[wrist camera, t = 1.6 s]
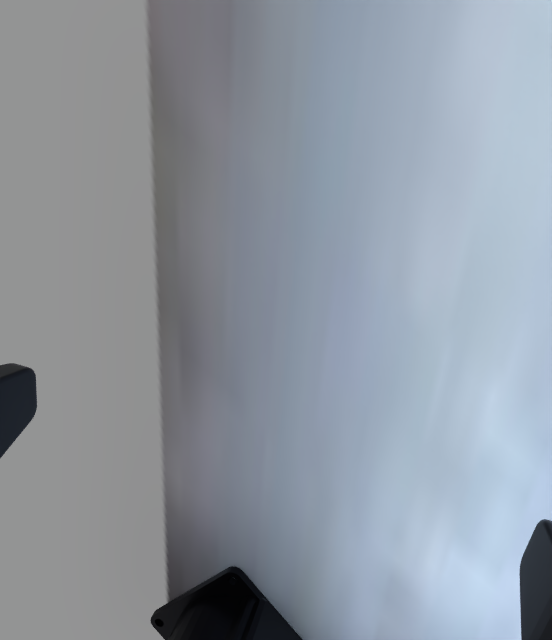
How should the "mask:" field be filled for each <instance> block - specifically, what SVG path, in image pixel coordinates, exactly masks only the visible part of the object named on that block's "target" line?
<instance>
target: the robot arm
mask: <svg viewBox="0 0 552 640" xmlns="http://www.w3.org/2000/svg"><path fill="white" fill-rule="evenodd" d="M36 408H37V395H36V375H35V373H34V371H33V370H32V369H31V368H28V367H25V366H21V365H18V364H14V363H10V364H5V365H0V458H1V457H2V456H3V454H4V453H5V452H6V451H7V449H8V448H9V447H10V446H11V445H12V443H13V442H14V441H15V440H16V438H17V437H18V436H19V435H20V434H21V432H22V431H23V430H24V429H25V427H26V426H27V425H28V424H29V422H30V421H31V420H32V418H33V417H34V415H35V412H36ZM231 576H232V577H235V578H236V579H234V578H232V577H231ZM520 603H521V637H522V640H552V521H550V520H547V519H544V520H541V521H540V522H539V523H538V524H537V526H536V528H535V530H534V532H533V534H532V536H531V539H530V541H529V543H528V545H527V548H526V550H525V552H524V554H523V557H522V560H521V564H520ZM151 624H152V625H153V627H154V628H155V629H156V630H157V631H158V632H159V633H160V634H161V636H162V637H163V638H164V639H165V640H302V639H301V638H300V637H299V636H298V634H297V633H296V632H295V631H294V630H293V629H292V627H291V626H290V625H289V624H288V623H287V622H286V621H285V619H284V618H283V617H282V616H281V615H280V614H279V612H278V611H277V610H276V609H275V608H274V607H273V606H272V604H271V603H270V602H269V601H268V600H267V599H266V597H265V596H264V595H263V594H262V593H261V592H260V590H259V589H258V588H257V587H256V586H255V585H254V584H253V582H252V581H251V580H250V579H249V578H248V577H247V575H246V574H245V573H244V572H243V571H242V570H241V569H240V568H238V567H233V566H232V567H229V568H227V569H225V570H224V571H222V572H220V573H219V574H217V575H215V576H213V577H212V578H210V579H208V580H207V581H205V582H203V583H201V584H200V585H198V586H196V587H195V588H193V589H191V590H190V591H188V592H186V593H184V594H183V595H181V596H179V597H178V598H176V599H174V600H172V601H171V602H169V603H167V604H166V605H164V606H162V607H161V608H159V609H157V610H156V611H155V612H154V614H153V616H152V617H151Z"/></svg>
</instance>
